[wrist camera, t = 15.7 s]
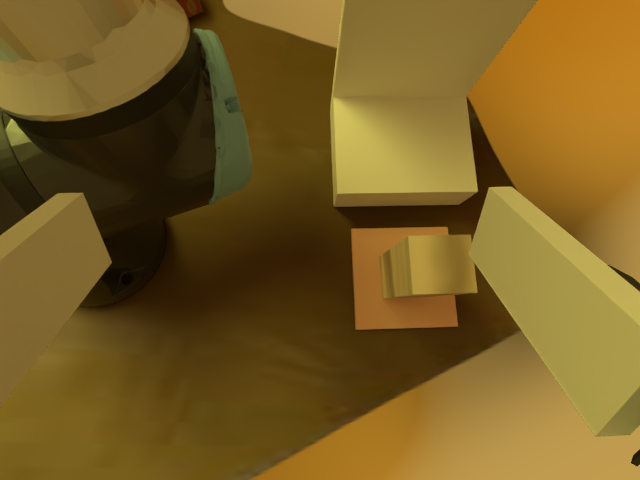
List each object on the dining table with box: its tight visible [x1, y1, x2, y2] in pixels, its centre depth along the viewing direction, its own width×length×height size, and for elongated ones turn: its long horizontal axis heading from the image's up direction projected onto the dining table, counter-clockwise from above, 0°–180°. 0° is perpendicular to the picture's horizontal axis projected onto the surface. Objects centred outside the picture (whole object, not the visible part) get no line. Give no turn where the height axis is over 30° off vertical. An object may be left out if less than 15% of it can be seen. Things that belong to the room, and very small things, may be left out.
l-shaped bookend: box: [330, 0, 538, 207], centre depth 33 cm, size 16×14×24 cm
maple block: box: [379, 235, 478, 299], centre depth 35 cm, size 6×5×12 cm
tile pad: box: [351, 227, 458, 330], centre depth 41 cm, size 12×12×1 cm
